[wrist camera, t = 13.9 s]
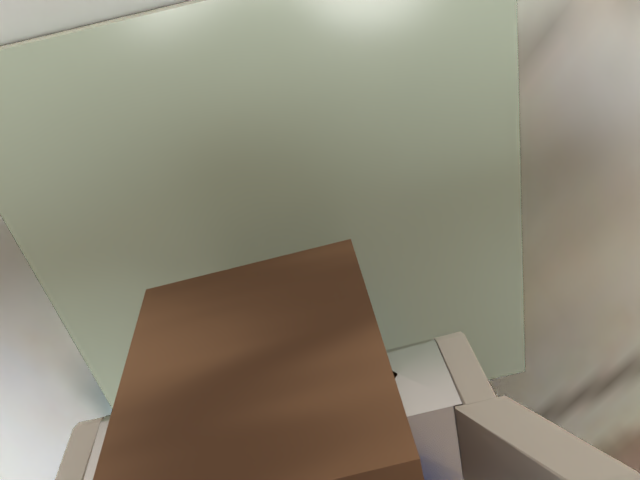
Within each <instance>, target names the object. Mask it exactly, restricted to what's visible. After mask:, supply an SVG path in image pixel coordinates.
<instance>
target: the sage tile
mask: <svg viewBox="0 0 640 480" xmlns="http://www.w3.org/2000/svg"><path fill="white" fill-rule="evenodd" d="M0 215H1V217H2V219H3V220H4V222H5V224H6V225H7V227H8V229H9V231H10V232H11V234H12V236H13V238H14V239H15V241H16V243H17V245H18V246H19V248H20V250H21V251H22V253H23V255H24V257H25V258H26V260H27V262H28V264H29V265H30V267H31V269H32V271H33V272H34V274H35V276H36V277H37V279H38V281H39V283H40V284H41V286H42V288H43V290H44V291H45V293H46V295H47V297H48V298H49V300H50V302H51V303H52V305H53V307H54V309H55V310H56V312H57V314H58V316H59V317H60V319H61V321H62V323H63V324H64V326H65V328H66V329H67V331H68V333H69V335H70V336H71V338H72V340H73V342H74V343H75V345H76V347H77V349H78V350H79V352H80V354H81V355H82V357H83V359H84V361H85V362H86V364H87V366H88V368H89V369H90V371H91V373H92V375H93V376H94V378H95V380H96V381H97V383H98V385H99V387H100V388H101V390H102V392H103V394H104V395H105V397H106V399H107V401H108V402H109V404H110V406H111V407H112V409H113V405H114V402H115V398H116V395H117V391H118V388H119V384H120V380H121V377H122V373H123V370H124V366H125V363H126V359H127V355H128V352H129V348H130V345H131V341H132V338H133V334H134V330H135V327H136V323H137V320H138V316H139V313H140V309H141V305H142V302H143V298H144V295H145V291H146V289H150V288H154V287H158V286H162V285H166V284H170V283H174V282H178V281H182V280H186V279H190V278H194V277H198V276H202V275H206V274H210V273H215V272H219V271H223V270H227V269H231V268H235V267H239V266H243V265H247V264H251V263H255V262H259V261H263V260H267V259H271V258H275V257H279V256H283V255H287V254H291V253H295V252H299V251H304V250H308V249H312V248H316V247H320V246H324V245H328V244H332V243H336V242H340V241H344V240H348V239H351V241H352V244H353V247H354V251H355V254H356V257H357V260H358V263H359V266H360V270H361V273H362V276H363V279H364V282H365V286H366V289H367V292H368V295H369V298H370V301H371V305H372V308H373V311H374V314H375V317H376V320H377V324H378V327H379V330H380V333H381V336H382V340H383V343H384V346H385V349H386V350H389V349H393V348H397V347H401V346H405V345H409V344H413V343H417V342H421V341H425V340H429V339H434V338H436V337H440V336H444V335H448V334H452V333H455V332H459V331H461V332H462V333H464V334H465V336H466V338H467V340H468V342H469V344H470V346H471V348H472V350H473V352H474V354H475V356H476V358H477V360H478V362H479V364H480V366H481V367H482V369H483V371H484V373H485V375H486V377H487V379H488V380H490V379H495V378H499V377H504V376H508V375H513V374H517V373H522V372H525V338H524V293H523V248H522V203H521V158H520V113H519V68H518V23H517V0H191V1H187V2H183V3H179V4H174V5H170V6H166V7H162V8H158V9H154V10H149V11H145V12H141V13H137V14H133V15H129V16H125V17H120V18H116V19H112V20H108V21H104V22H100V23H95V24H91V25H87V26H83V27H79V28H75V29H70V30H66V31H62V32H58V33H54V34H50V35H46V36H41V37H37V38H33V39H29V40H25V41H21V42H16V43H12V44H8V45H4V46H0Z"/></svg>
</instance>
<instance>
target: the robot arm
mask: <svg viewBox="0 0 640 480" xmlns="http://www.w3.org/2000/svg"><path fill="white" fill-rule="evenodd" d="M386 352H387V355H388V359H389V362H390V365H391V368H392V371H393V374H394V378H395V381H396V384H397V387H398V390H399V394H400V397H401V400H402V403H403V406H404V409H405V413H406V416H407V419H408V422H409V425H410V428H411V432H412V435H413V438H414V441H415V444H416V447H417V451H418V454H419V457H420V461H421V466H422V471H423V476H424V480H640V474H639V472H637V471H636V470H634V469H632V468H630V467H629V466H627V465H625V464H623V463H622V462H620V461H618V460H617V459H615V458H613V457H611V456H610V455H608V454H606V453H604V452H603V451H601V450H599V449H597V448H596V447H594V446H592V445H591V444H589V443H587V442H585V441H584V440H582V439H580V438H578V437H577V436H575V435H573V434H571V433H570V432H568V431H566V430H565V429H563V428H561V427H559V426H558V425H556V424H554V423H552V422H551V421H549V420H547V419H545V418H544V417H542V416H540V415H539V414H537V413H535V412H533V411H532V410H530V409H528V408H526V407H525V406H523V405H521V404H519V403H518V402H516V401H514V400H513V399H511V398H509V397H507V396H506V395H504V396H499V397H496V395H495V393H494V391H493V389H492V387H491V385H490V383H489V381H488V379H487V377H486V375H485V373H484V371H483V369H482V367H481V366H480V364H479V362H478V360H477V358H476V356H475V354H474V352H473V350H472V348H471V346H470V344H469V342H468V340H467V338H466V336H465V334H464V333H462V332H461V331H459V332H455V333H452V334H448V335H444V336H440V337H436V338H434V339H429V340H425V341H421V342H417V343H413V344H409V345H405V346H401V347H397V348H393V349H389V350H386ZM110 416H111V415H108V416H105V417H102V418H97V419H92V420H87V421H82V422H79V423H78V424H77V425H76V426H75V427H74V428H73V430H72V433H71V436H70V438H69V441H68V444H67V447H66V450H65V453H64V455H63V458H62V461H61V464H60V467H59V470H58V472H57V475H56V478H55V480H93V477H94V473H95V470H96V466H97V463H98V459H99V455H100V452H101V448H102V445H103V441H104V438H105V434H106V430H107V427H108V423H109V420H110Z"/></svg>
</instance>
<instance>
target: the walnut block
mask: <svg viewBox="0 0 640 480" xmlns="http://www.w3.org/2000/svg"><path fill="white" fill-rule="evenodd" d="M93 480H424V476H423V471H422V466H421V461H420V457H419V454H418V451H417V447H416V444H415V441H414V438H413V435H412V432H411V428H410V425H409V422H408V419H407V416H406V413H405V409H404V406H403V403H402V400H401V397H400V394H399V390H398V387H397V384H396V381H395V378H394V374H393V371H392V368H391V365H390V362H389V359H388V355H387V352H386V349H385V346H384V343H383V340H382V336H381V333H380V330H379V327H378V324H377V320H376V317H375V314H374V311H373V308H372V305H371V301H370V298H369V295H368V292H367V289H366V286H365V282H364V279H363V276H362V273H361V270H360V266H359V263H358V260H357V257H356V254H355V251H354V247H353V244H352V241H351V239H348V240H344V241H340V242H336V243H332V244H328V245H324V246H320V247H316V248H312V249H308V250H304V251H299V252H295V253H291V254H287V255H283V256H279V257H275V258H271V259H267V260H263V261H259V262H255V263H251V264H247V265H243V266H239V267H235V268H231V269H227V270H223V271H219V272H215V273H210V274H206V275H202V276H198V277H194V278H190V279H186V280H182V281H178V282H174V283H170V284H166V285H162V286H158V287H154V288H150V289H146V291H145V295H144V298H143V302H142V305H141V309H140V313H139V316H138V320H137V323H136V327H135V330H134V334H133V338H132V341H131V345H130V348H129V352H128V355H127V359H126V363H125V366H124V370H123V373H122V377H121V380H120V384H119V388H118V391H117V395H116V398H115V402H114V405H113V409H112V413H111V416H110V420H109V423H108V427H107V430H106V434H105V438H104V441H103V445H102V448H101V452H100V455H99V459H98V463H97V466H96V470H95V473H94V477H93Z"/></svg>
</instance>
